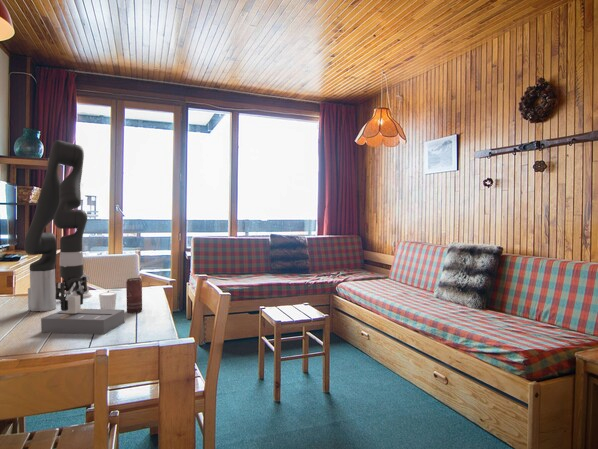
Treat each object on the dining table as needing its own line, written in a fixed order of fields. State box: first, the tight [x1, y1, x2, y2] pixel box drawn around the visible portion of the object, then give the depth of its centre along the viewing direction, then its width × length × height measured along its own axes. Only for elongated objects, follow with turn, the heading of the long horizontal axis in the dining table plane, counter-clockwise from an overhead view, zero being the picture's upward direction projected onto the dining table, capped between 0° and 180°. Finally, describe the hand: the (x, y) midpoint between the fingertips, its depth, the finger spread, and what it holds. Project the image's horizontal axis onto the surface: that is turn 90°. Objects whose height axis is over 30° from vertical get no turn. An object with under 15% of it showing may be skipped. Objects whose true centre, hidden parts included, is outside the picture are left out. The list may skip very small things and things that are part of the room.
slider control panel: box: [40, 308, 125, 335], centre depth 145 cm, size 23×14×5 cm, turn 86°
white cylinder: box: [98, 291, 117, 310], centre depth 170 cm, size 7×7×7 cm
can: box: [125, 277, 143, 314], centre depth 167 cm, size 6×6×14 cm
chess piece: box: [71, 270, 93, 300], centre depth 194 cm, size 10×10×15 cm
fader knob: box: [65, 295, 82, 314], centre depth 145 cm, size 4×3×8 cm
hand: (72, 307), depth 145 cm, fingers open, 8 cm apart
